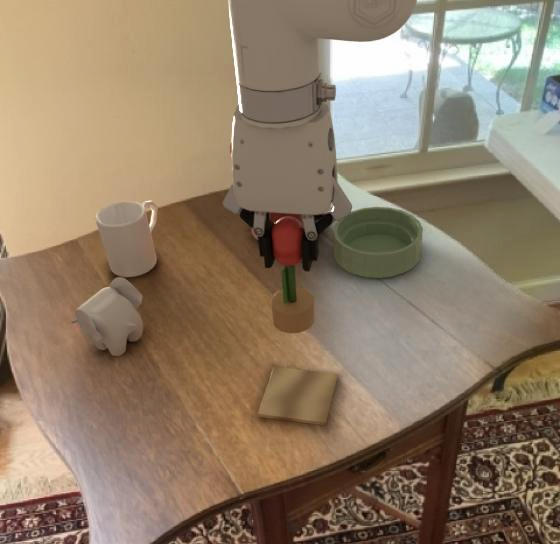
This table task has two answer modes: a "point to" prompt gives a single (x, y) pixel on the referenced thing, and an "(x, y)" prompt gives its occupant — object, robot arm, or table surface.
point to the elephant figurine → (112, 316)
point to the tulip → (290, 279)
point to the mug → (128, 237)
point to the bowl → (377, 242)
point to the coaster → (298, 396)
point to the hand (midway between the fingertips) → (289, 261)
